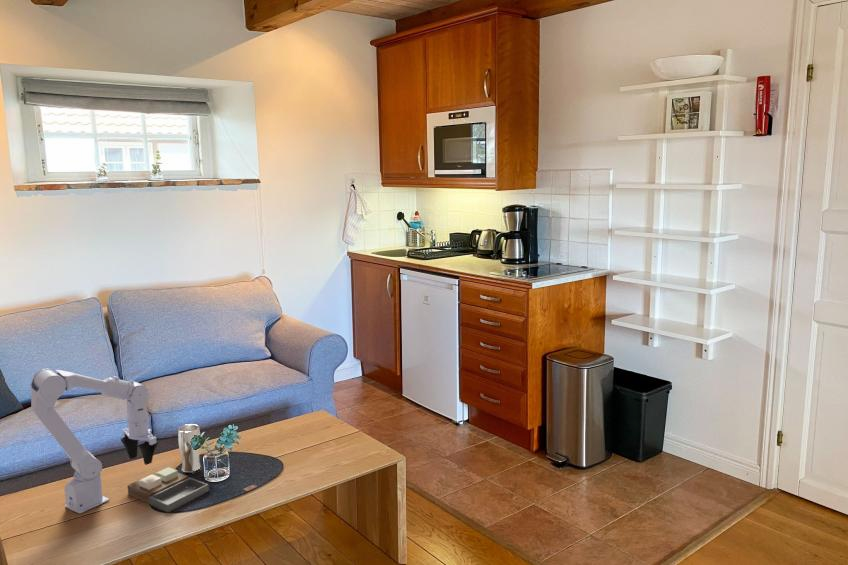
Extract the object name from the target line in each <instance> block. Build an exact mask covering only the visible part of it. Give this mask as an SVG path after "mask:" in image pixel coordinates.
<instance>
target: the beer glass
mask: <svg viewBox="0 0 848 565" xmlns="http://www.w3.org/2000/svg"><path fill="white" fill-rule="evenodd" d="M177 433H178V434H177V436H178V440H177V441H178V447H179V451H180V455H181V459H182V461H181V462H182V466H181V472H182V471H183V472H193V471H196V470H198V469H200V467H201V468H202V466H201V462H200V452H201V451H200V450H201V447H200V448H199V449H197V450H193V448H192V446H191V443H190V441H191V439H192V438H193V437H194V435H200V436H201V431H200V426H199V425H198V424H196V423H195V424H193V423H191V424H190V423H189V424H184V425H182V426H179V428H178V432H177ZM200 470H201V469H200ZM183 472H182V473H183Z"/></svg>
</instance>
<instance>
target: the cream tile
mask: <svg viewBox="0 0 848 565" xmlns="http://www.w3.org/2000/svg"><path fill="white" fill-rule="evenodd" d="M153 474H154V473H152V475H151V474H150V476H149V475H147V476H145V477H143V478H141V480H140V479H139V480H140V486H141V487H143V488H146V489H148V490H150V489H152V488H154V487H156V486H158V485H160V484H162V481H161V478H160V477H158V476H155V475H153Z"/></svg>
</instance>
